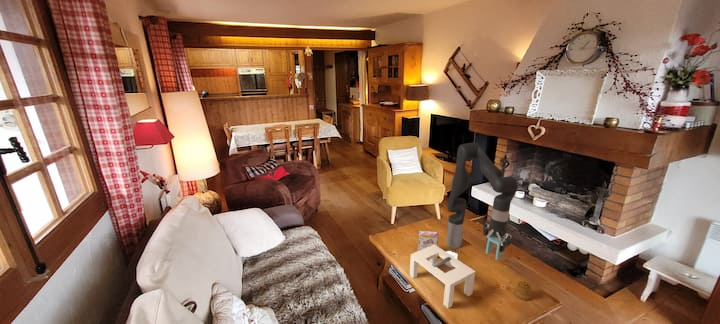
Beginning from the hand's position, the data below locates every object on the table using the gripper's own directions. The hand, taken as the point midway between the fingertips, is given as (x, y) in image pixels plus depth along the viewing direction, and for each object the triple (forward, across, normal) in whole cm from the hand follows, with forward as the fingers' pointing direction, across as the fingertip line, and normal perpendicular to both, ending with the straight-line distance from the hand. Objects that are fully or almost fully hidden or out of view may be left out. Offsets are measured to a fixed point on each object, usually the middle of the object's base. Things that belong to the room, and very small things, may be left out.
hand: (494, 247), depth 140 cm
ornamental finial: (+28, -10, -14) cm, 33 cm away
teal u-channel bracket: (+4, 0, 0) cm, 4 cm away
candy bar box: (+28, +40, +4) cm, 49 cm away
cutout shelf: (+28, +18, +16) cm, 37 cm away
